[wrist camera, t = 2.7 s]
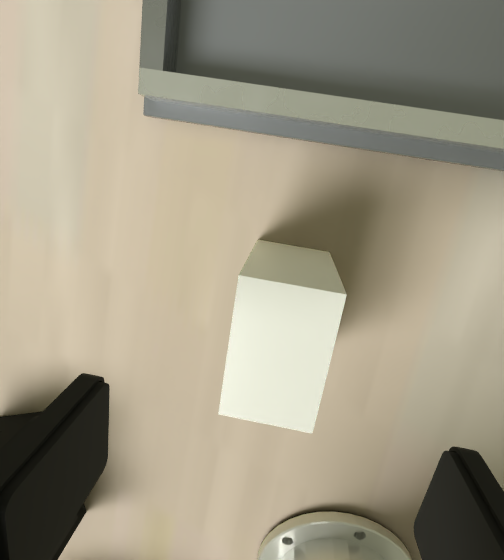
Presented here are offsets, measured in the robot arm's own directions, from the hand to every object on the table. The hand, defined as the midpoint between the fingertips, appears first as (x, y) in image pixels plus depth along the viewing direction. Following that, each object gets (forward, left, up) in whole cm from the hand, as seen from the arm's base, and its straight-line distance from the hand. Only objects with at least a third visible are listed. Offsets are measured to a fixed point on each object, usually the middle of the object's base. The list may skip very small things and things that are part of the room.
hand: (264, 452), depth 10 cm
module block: (0, 0, -14) cm, 14 cm away
